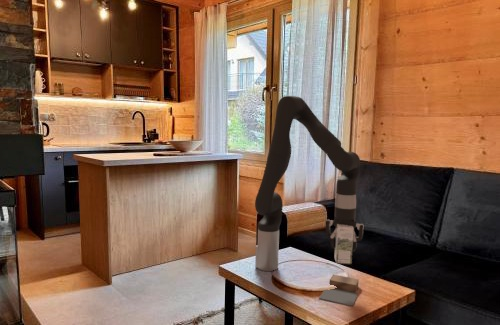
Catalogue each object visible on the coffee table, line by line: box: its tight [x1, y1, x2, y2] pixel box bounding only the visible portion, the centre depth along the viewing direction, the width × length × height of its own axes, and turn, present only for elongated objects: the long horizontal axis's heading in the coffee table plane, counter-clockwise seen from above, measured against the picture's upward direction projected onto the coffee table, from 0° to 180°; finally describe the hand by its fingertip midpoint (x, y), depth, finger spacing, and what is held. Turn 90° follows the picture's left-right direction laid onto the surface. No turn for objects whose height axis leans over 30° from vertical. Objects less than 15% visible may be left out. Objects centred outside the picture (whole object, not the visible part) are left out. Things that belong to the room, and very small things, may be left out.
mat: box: [318, 288, 359, 307], centre depth 136 cm, size 12×11×1 cm
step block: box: [329, 273, 360, 293], centre depth 144 cm, size 10×6×3 cm, turn 64°
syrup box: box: [333, 224, 355, 265], centre depth 138 cm, size 6×6×14 cm
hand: (343, 249), depth 138 cm, fingers closed on syrup box, 7 cm apart
